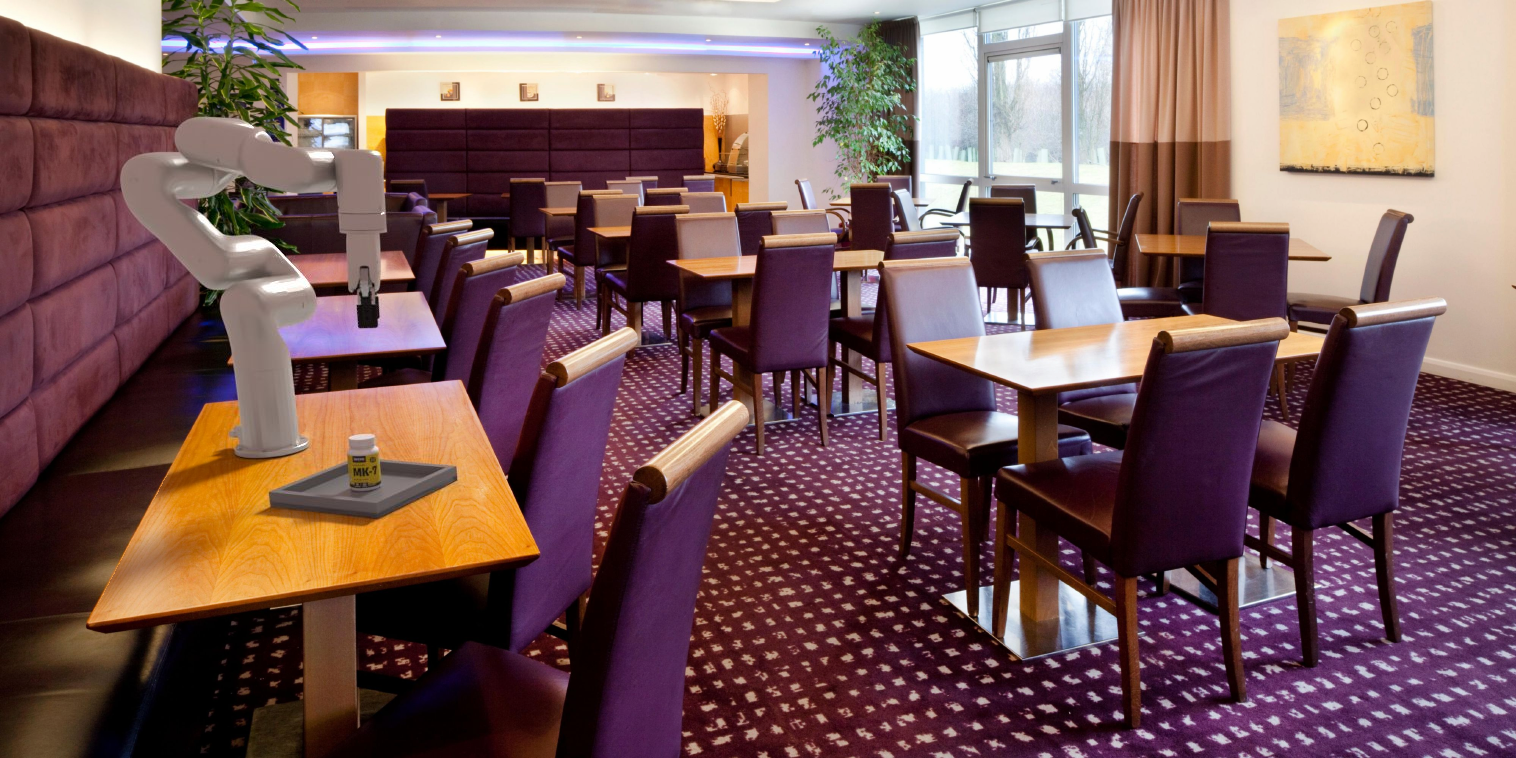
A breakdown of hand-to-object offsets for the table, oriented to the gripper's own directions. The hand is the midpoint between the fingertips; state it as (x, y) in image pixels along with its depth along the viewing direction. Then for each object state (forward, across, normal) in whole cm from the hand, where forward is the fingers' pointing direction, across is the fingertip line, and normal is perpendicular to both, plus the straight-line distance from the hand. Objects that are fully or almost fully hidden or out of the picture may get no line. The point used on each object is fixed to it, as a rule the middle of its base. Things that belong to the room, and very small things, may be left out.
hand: (369, 323), depth 183 cm
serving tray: (+24, +20, -1) cm, 32 cm away
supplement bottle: (+24, +20, -1) cm, 31 cm away
